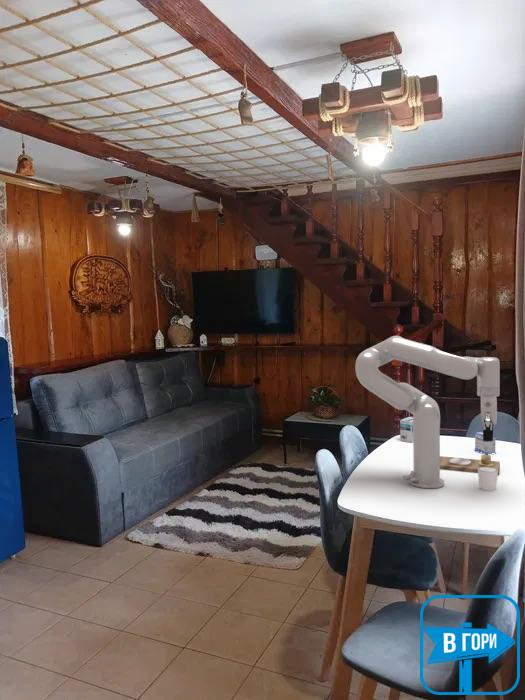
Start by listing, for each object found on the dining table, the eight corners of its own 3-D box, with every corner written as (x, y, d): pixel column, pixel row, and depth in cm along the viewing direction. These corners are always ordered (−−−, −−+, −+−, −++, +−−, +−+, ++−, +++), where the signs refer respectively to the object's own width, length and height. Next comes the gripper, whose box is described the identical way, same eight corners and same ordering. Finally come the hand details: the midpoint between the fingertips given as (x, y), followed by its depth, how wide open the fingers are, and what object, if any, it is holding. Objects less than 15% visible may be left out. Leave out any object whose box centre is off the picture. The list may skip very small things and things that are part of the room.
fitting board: (435, 468, 217) (435, 456, 216) (439, 459, 229) (439, 447, 229) (498, 475, 207) (499, 461, 206) (499, 465, 219) (499, 452, 219)
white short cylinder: (476, 489, 191) (476, 470, 191) (478, 483, 197) (478, 465, 197) (497, 492, 188) (497, 473, 188) (498, 486, 194) (498, 467, 194)
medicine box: (474, 451, 241) (474, 432, 241) (481, 449, 243) (481, 431, 242) (488, 455, 234) (488, 436, 233) (495, 453, 236) (495, 434, 235)
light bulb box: (412, 443, 258) (411, 421, 257) (399, 441, 263) (399, 419, 262) (422, 438, 266) (422, 417, 265) (409, 436, 270) (409, 416, 270)
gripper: (499, 395, 181) (499, 444, 182) (499, 388, 197) (499, 433, 198) (476, 394, 184) (476, 442, 185) (478, 387, 200) (478, 431, 201)
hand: (488, 437), depth 192 cm, fingers open, 9 cm apart
